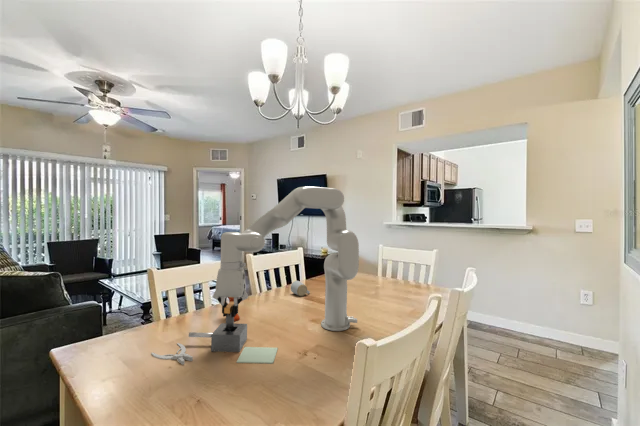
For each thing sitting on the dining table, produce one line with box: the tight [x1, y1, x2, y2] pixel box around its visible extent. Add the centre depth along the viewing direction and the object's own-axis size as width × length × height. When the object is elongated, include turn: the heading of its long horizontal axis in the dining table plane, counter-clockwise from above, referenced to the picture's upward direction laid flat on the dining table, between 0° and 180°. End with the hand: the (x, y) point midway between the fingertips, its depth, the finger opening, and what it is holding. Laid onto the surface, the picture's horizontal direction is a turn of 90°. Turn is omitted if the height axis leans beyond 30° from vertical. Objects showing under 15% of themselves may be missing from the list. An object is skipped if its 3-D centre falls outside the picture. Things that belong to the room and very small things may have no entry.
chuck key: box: [224, 302, 235, 332], centre depth 106 cm, size 3×7×10 cm, turn 0°
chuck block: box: [188, 322, 248, 353], centre depth 106 cm, size 20×10×6 cm, turn 90°
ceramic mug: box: [290, 280, 311, 297], centre depth 171 cm, size 11×8×8 cm
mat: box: [236, 346, 279, 365], centre depth 99 cm, size 12×10×1 cm
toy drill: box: [227, 296, 243, 322], centre depth 127 cm, size 5×19×15 cm, turn 38°
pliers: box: [151, 342, 194, 366], centre depth 98 cm, size 10×2×15 cm
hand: (230, 315), depth 106 cm, fingers closed on chuck key, 2 cm apart
